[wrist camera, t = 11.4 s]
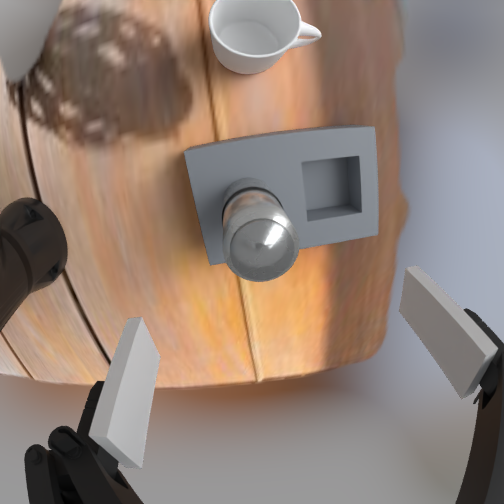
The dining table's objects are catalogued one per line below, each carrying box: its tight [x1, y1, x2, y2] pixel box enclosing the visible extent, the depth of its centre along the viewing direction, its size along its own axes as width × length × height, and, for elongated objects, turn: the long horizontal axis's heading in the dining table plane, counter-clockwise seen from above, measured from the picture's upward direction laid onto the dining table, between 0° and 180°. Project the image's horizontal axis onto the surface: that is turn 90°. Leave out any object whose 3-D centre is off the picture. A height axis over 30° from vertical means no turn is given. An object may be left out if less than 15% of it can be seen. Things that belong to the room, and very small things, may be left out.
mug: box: [209, 0, 321, 74], centre depth 25 cm, size 9×12×11 cm
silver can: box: [222, 177, 299, 282], centre depth 26 cm, size 6×6×13 cm
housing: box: [184, 125, 378, 265], centre depth 35 cm, size 22×14×6 cm, turn 99°
